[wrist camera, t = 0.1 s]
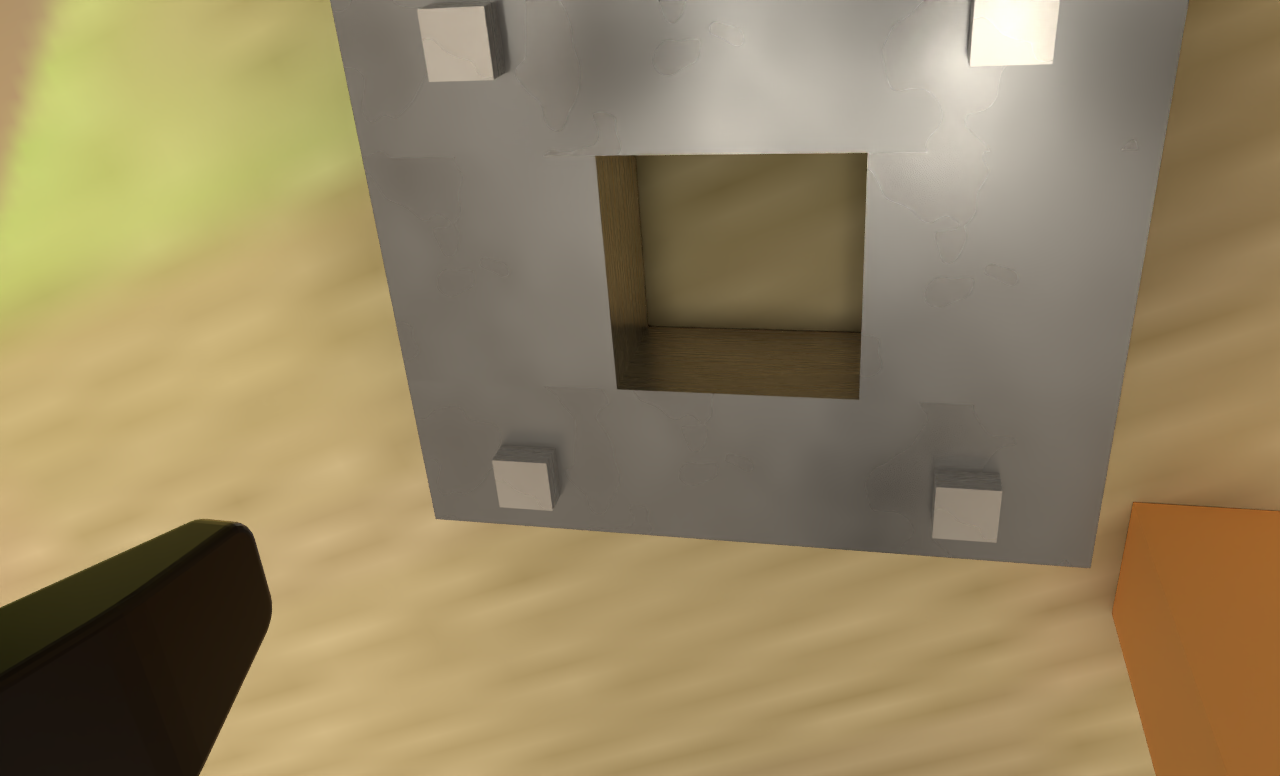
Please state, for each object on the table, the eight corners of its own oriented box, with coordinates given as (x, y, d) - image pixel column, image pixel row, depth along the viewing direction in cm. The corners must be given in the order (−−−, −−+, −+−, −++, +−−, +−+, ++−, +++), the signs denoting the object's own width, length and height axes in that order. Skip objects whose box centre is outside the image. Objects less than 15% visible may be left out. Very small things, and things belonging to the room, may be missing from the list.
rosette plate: (1068, 484, 23) (1095, 587, 20) (481, 450, 26) (425, 534, 23) (1159, -112, 17) (1217, -97, 14) (394, -63, 20) (303, -43, 17)
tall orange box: (1261, 625, 23) (1411, 956, 17) (1111, 613, 24) (1196, 925, 17) (1293, 512, 22) (1473, 824, 15) (1133, 502, 23) (1235, 796, 16)
